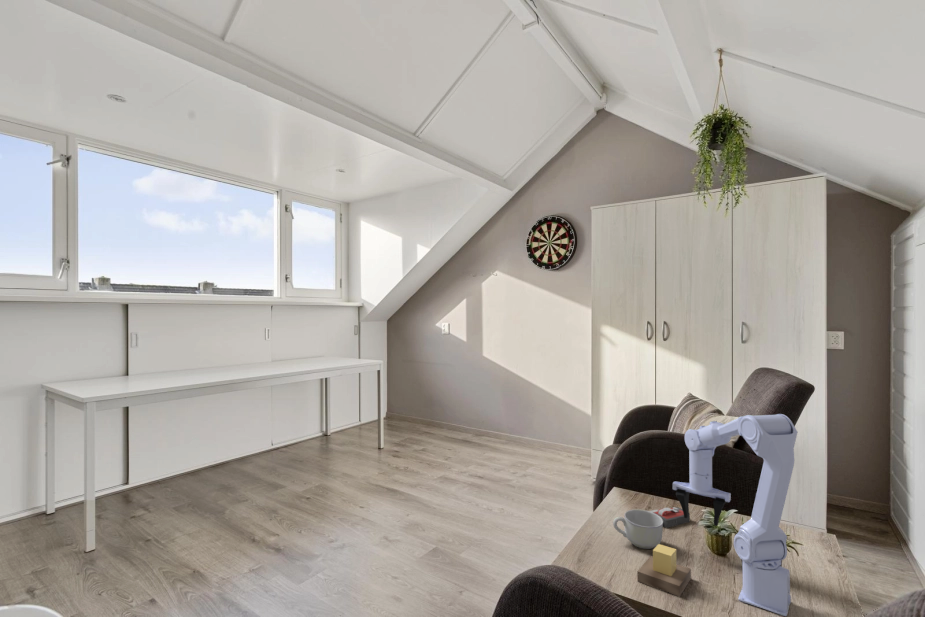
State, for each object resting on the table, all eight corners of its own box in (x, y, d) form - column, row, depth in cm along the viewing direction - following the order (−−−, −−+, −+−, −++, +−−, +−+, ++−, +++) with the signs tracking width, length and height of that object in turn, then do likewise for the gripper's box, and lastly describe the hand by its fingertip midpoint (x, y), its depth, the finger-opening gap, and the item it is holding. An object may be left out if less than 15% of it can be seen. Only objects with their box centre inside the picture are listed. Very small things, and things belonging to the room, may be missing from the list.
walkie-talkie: (672, 512, 161) (627, 522, 153) (672, 499, 161) (627, 509, 153) (694, 522, 153) (648, 534, 145) (694, 508, 153) (648, 519, 145)
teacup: (660, 538, 141) (660, 511, 141) (666, 555, 131) (665, 526, 131) (612, 532, 145) (612, 506, 145) (613, 549, 135) (613, 521, 135)
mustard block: (676, 569, 119) (676, 549, 119) (671, 576, 116) (671, 556, 116) (658, 563, 122) (658, 543, 122) (653, 570, 119) (652, 550, 119)
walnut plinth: (690, 578, 119) (690, 568, 119) (679, 596, 112) (679, 586, 112) (650, 565, 126) (650, 555, 126) (637, 581, 118) (637, 571, 118)
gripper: (732, 474, 130) (733, 523, 130) (677, 463, 140) (677, 509, 139) (727, 480, 125) (727, 532, 125) (670, 469, 134) (670, 517, 134)
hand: (701, 520), depth 132 cm, fingers open, 7 cm apart
